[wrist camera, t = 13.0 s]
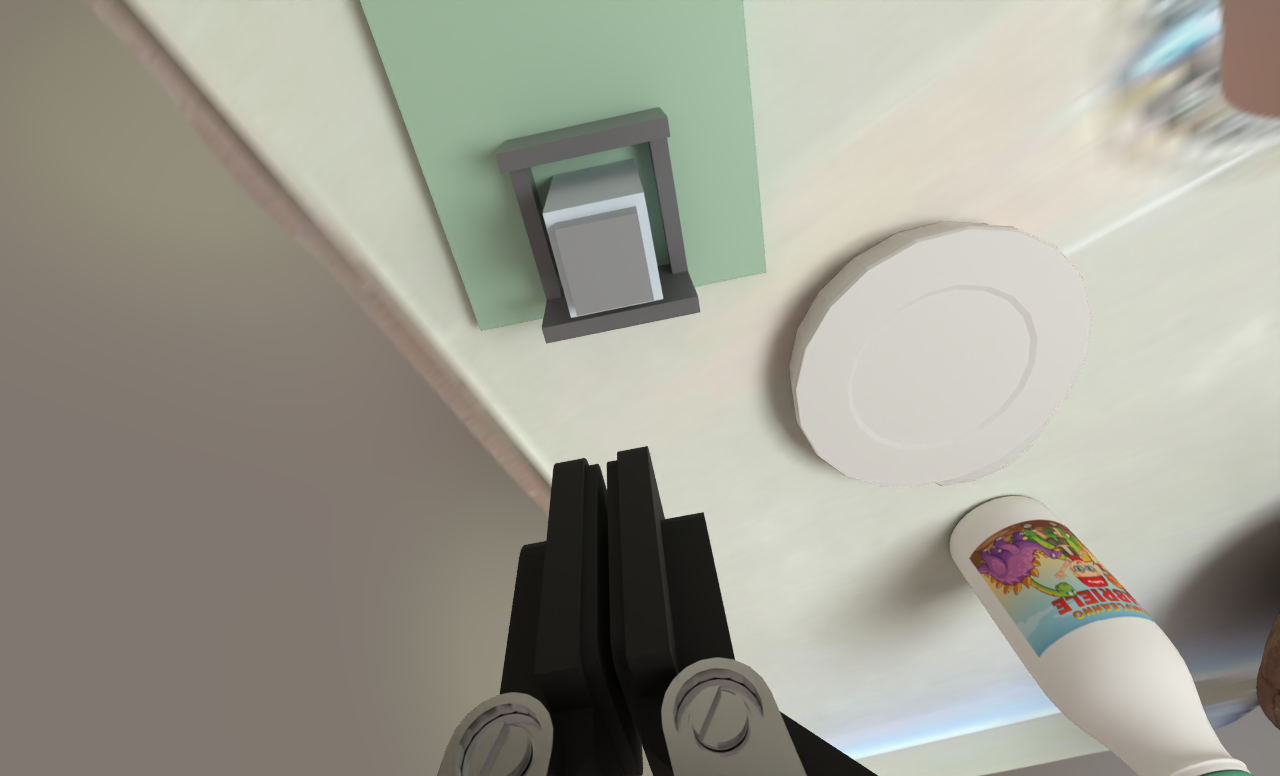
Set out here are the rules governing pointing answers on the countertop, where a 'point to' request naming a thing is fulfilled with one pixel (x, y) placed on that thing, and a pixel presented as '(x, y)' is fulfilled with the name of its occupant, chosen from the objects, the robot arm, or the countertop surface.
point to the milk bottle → (1087, 640)
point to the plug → (602, 238)
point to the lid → (939, 354)
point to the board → (573, 122)
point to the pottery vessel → (1270, 676)
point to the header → (518, 163)
